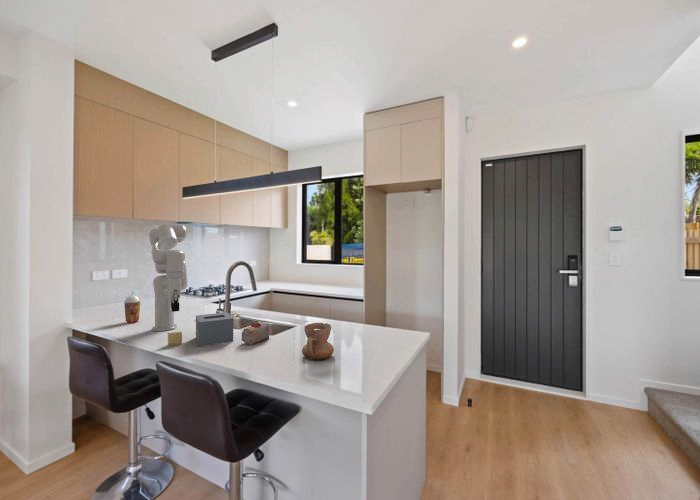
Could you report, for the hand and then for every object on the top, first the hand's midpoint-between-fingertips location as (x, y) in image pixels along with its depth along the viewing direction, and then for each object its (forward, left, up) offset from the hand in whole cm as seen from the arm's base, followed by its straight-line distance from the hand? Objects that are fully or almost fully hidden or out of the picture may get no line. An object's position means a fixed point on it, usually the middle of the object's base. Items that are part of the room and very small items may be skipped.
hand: (175, 309), depth 149 cm
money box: (+1, +18, -18) cm, 25 cm away
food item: (+15, +36, -18) cm, 43 cm away
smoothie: (-61, -21, -18) cm, 67 cm away
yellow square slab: (0, 0, -18) cm, 18 cm away
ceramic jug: (+51, +54, -18) cm, 76 cm away
